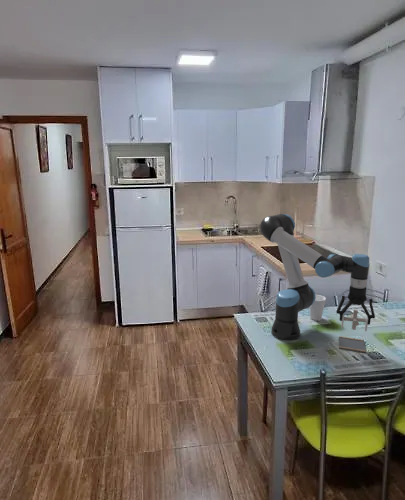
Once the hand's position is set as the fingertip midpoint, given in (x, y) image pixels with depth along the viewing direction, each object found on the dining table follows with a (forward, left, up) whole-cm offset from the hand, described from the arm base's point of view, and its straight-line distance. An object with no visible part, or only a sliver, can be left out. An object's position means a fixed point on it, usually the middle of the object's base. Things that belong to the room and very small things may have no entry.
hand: (353, 328), depth 176 cm
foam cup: (-19, +27, -9) cm, 34 cm away
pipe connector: (0, 0, 0) cm, 0 cm away
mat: (0, 0, -9) cm, 9 cm away
